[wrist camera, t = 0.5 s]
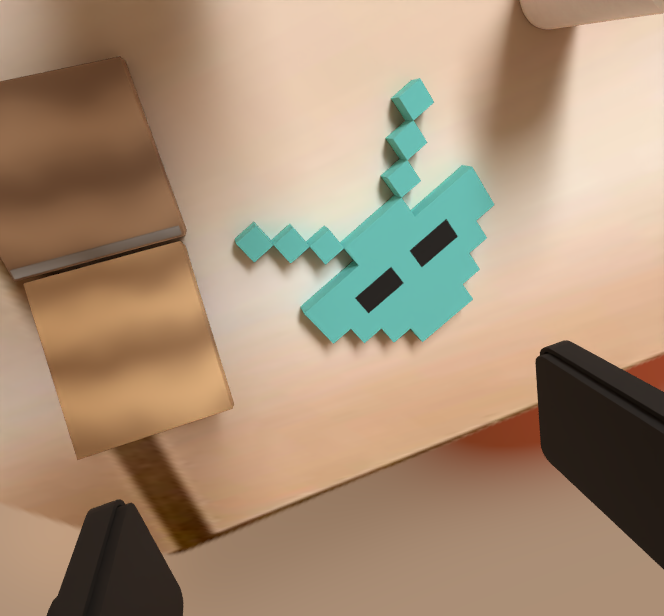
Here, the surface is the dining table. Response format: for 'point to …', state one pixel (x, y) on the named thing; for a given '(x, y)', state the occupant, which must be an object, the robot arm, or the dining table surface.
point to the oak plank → (129, 347)
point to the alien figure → (395, 247)
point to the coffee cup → (585, 11)
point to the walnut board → (78, 170)
